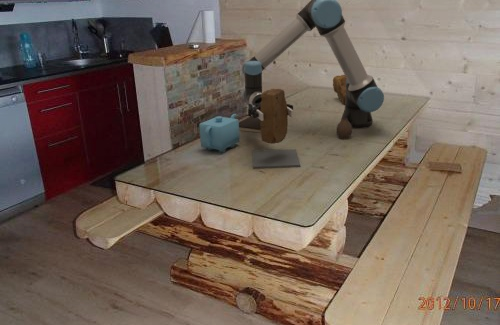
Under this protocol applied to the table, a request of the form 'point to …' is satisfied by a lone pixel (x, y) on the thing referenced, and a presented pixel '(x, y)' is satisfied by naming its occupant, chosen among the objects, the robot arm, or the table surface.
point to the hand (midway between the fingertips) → (277, 115)
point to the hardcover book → (250, 124)
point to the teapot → (219, 133)
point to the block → (274, 116)
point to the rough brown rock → (340, 87)
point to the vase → (344, 129)
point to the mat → (275, 158)
